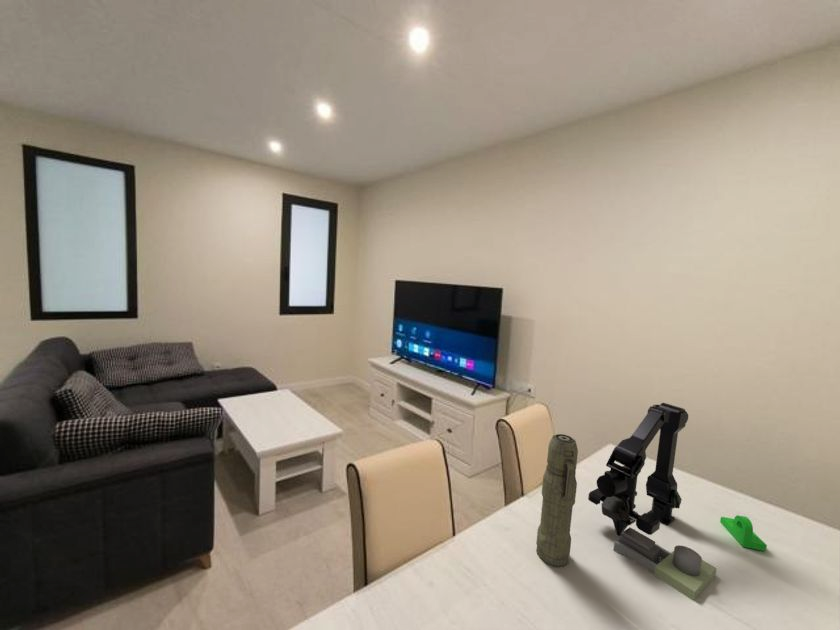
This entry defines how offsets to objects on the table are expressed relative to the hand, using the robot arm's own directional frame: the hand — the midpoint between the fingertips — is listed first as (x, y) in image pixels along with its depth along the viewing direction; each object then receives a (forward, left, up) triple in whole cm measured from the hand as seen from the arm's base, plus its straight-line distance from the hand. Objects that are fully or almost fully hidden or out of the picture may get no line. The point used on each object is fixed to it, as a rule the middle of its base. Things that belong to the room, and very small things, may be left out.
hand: (618, 535), depth 109 cm
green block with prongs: (0, +17, -2) cm, 17 cm away
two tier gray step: (+1, +6, -2) cm, 6 cm away
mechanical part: (-39, +19, -2) cm, 44 cm away
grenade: (+24, -6, -2) cm, 25 cm away
